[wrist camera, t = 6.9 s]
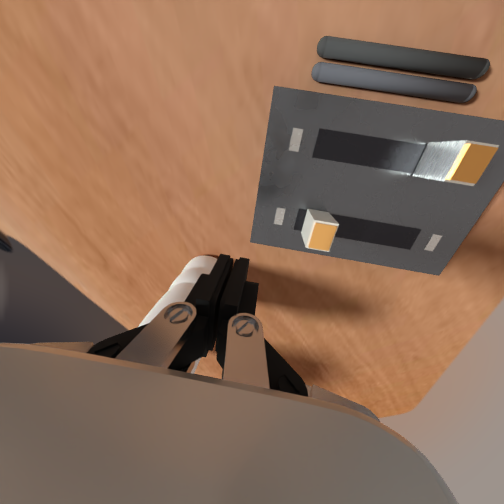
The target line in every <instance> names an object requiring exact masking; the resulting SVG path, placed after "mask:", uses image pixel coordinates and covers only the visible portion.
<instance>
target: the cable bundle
mask: <svg viewBox="0 0 504 504" xmlns="http://www.w3.org/2000/svg"><path fill="white" fill-rule="evenodd" d="M317 53H318V55H319V56H320V57H323V58H329V59H336V60H343V61H350V62H357V63H364V64H370V65H377V66H384V67H391V68H398V69H405V70H411V71H418V72H425V73H432V74H439V75H445V76H452V77H459V78H466V79H477V78H479V77H481V76H482V75H484V74H485V73H486V72H487V70H488V69H489V66H490V62H489V60H488V59H485V58H478V57H471V56H464V55H457V54H450V53H443V52H436V51H429V50H422V49H415V48H408V47H401V46H394V45H387V44H380V43H373V42H366V41H359V40H352V39H345V38H338V37H331V36H324V37H323V38H321V40H320V41H319V43H318V45H317ZM312 78H313V79H314V80H315V81H318V82H325V83H331V84H338V85H345V86H351V87H358V88H364V89H371V90H378V91H384V92H391V93H398V94H404V95H411V96H418V97H424V98H431V99H438V100H444V101H451V102H458V103H464V102H467V101H469V100H470V99H471V98H473V96H474V95H475V93H476V91H477V88H476V86H475V85H473V84H467V83H460V82H454V81H447V80H440V79H433V78H426V77H420V76H413V75H406V74H399V73H392V72H386V71H379V70H372V69H365V68H358V67H352V66H345V65H338V64H331V63H325V62H318V63H317V64H315V66H314V67H313V69H312Z"/></svg>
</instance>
